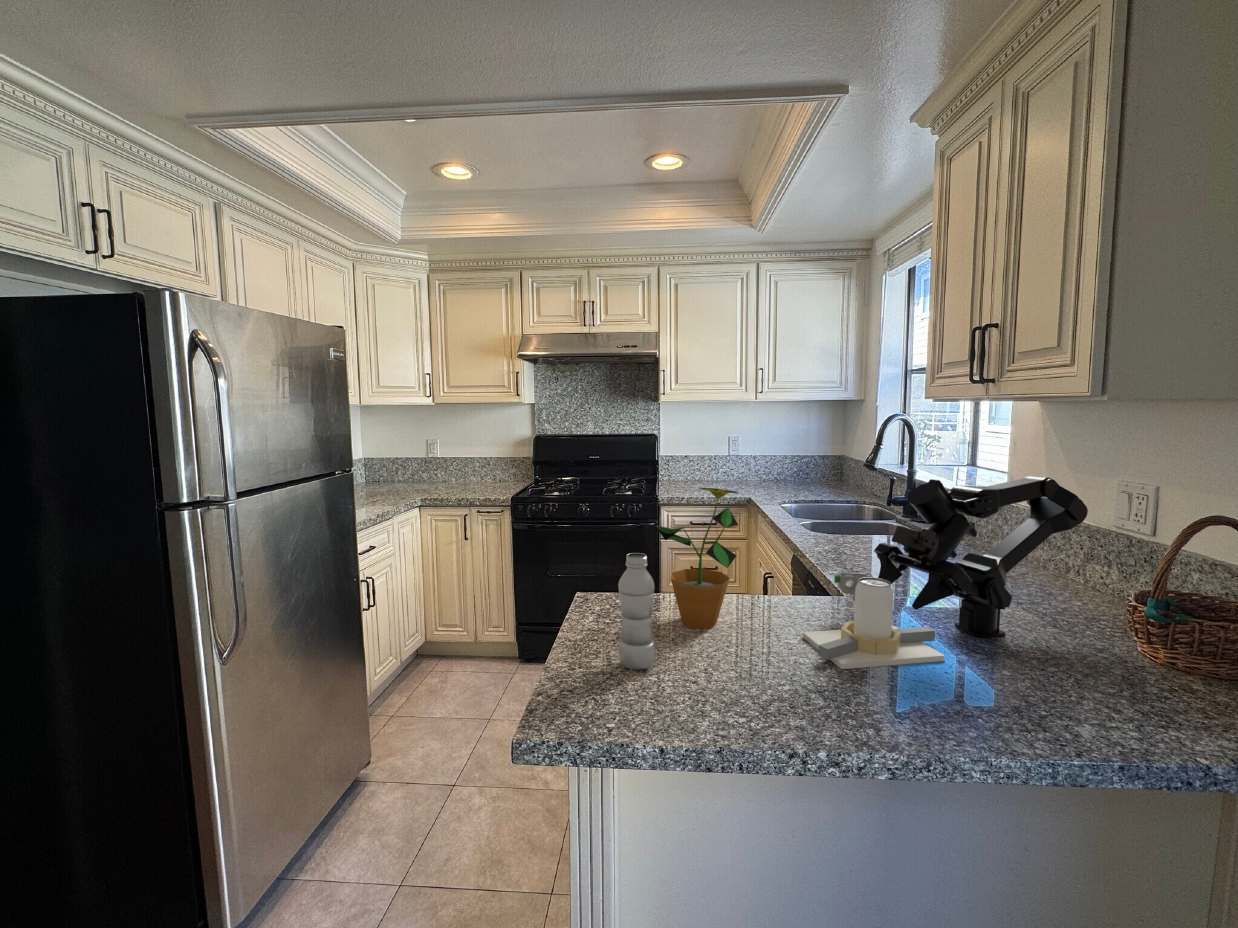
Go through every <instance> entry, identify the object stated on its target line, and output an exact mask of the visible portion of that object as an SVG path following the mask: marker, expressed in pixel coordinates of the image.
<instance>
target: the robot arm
mask: <svg viewBox="0 0 1238 928" xmlns="http://www.w3.org/2000/svg"><path fill="white" fill-rule="evenodd" d="M907 500H908V503H909V504H910V505H911V506H912V507H913V508H914V510H915V511H916V512H917V514H918V515H919V516H920V518H922V519H923V520H924V521H925V522H926V523H927V524H930V526H929V527H928V529H926V528H923V529H922V530H920V531H919V530H915V529H912V528H907V527H904V526H899V525H896V528H895V530H894V532H893V536H891V537H892V538H891V541H890V542H893V543H897V544H899V545H901V546H903V547H902V549H903V551H904V552H905V553H907V554H908V555H905V554H904V552H902V551H901V549H900V548H899V547H898V546H896V545H893V544H890V543H886V542H881V543H880V542H879V544H878V545H877V546H876V547H875V548H874V550H873V552H874V553H875V554H876V558H877V559H878V560H879V562H880V568H879V573H878V577H877V578H880V579H884V580H887V581H889V582H890V583H891V585H892V584H893V583H895V582H896V581H898V580H899V578H901V577H902V576H903V575H904V574H903V573H902V572H903V571H906V570H907V569H908V568H910V569H914V570H917V571H920V572H923V573H925V574H928V579H927V582H926V583H925V585H923V588H922V589H921V590H920V592H919V593H918V595H917V596H916V597H915V599H914V600H913V602H912V604H911V608H913V610H916V611H917V610H920V609H921V608H924V607H926V606H928V605H931V604H933V603H935V602H938V601H940V600H943V599H945V598H949V597H952V596H954V597H958V598H961V606H960V607H959V614H958V615H959V617H958V622H954V626H955V627H957V628H959V629H960V630H962V631H965V632H967V633H968V634H969V635H972V636H974V637H976V638H987V637H1002V636H1006V634H1007V632H1005V631H1003V630H1001V629H1000V627H1001V625H1000V624H1001V610H1006V608H1009V607H1010V605H1011V603H1012V600H1013V595H1011V593H1010V592H1009V591H1008V589H1006V585H1007V574H1008V573H1009V572H1010V571H1011V570H1012V569H1013V568H1014V567H1016V566H1017V565H1018V564H1019V563H1020V562H1022V560H1024V559H1025V558H1026V557H1027V556H1028V555H1030V554H1031V553H1032V552H1033V551H1034V550H1036V549H1037V548H1038V547H1039V546H1040V545H1041V544H1042V543H1044V542H1045V541H1046V540H1047V539H1049V538H1050V536H1052V535H1054V534H1058V533H1062V532H1067V531H1071V530H1072V529H1074V528H1075V527H1077V526H1080V525H1081V524H1082V523H1083V522H1084V520H1085V519H1086V518H1087V517H1088V511H1089V510H1088V507H1087V505H1086V504H1085V503H1084V501H1083V500H1082V499H1081V498H1080V497H1079V496H1078V495H1077V494H1075V493H1074V492H1071V491H1070V490H1068V489H1066V488H1065V487H1063V486H1061V485H1060V484H1059V483H1058V482H1057V481H1056V480H1055V479H1052V478H1051V477H1046V476H1035V475H1028V476H1025V477H1023V478H1020V479H1015V480H1010V481H1005V482H1002V483H1001V482H1000V483H997V484H993V485H988V486H981V485H980V486H978V485H955V486H953V487H952V488H951V489H950V491H948V490H947V489H946V488H945V486H944V484H943V482H942V481H941V480H939V479H934V478H932V479H931V478H930V479H929V481H928V482H926V483H922V484H920V485H918V486H916V487H915V488H912V489H911V490H910V491H909V493H908V495H907ZM1022 502H1023V503H1024V502H1026V504H1027V505H1029V507H1030V508H1029V517H1028V518H1027V519H1026V520H1025V521H1023V522H1022V523H1021V524H1020V525H1019V526H1017V528H1015V529H1014V530H1012V532H1011V533H1009V534H1007V536H1005V537H1004V538H1003V539H1001V540H1000V542H999V543H997V544H996V545H995V546H994V547H992V548H991V549H990V550H989V551H987V552H986V553H985V554H984V555H983V554H982V555H981V554H978V553H975V552H968V553H967V554H965V555H964V557H963V558H962V559H960V560H958V561H956V562H955V563H954V562H951V561H948V559H949V558H951V559H955V558H956V556H958V553H956V552H955V550H956V548H957V547H958V546H959V545H960V543H961V542H962V541H963V539H964V538H965V537H966V536H969V537H973V538H976V537H977V536H978V531H977V529H976V523H975V522H973V521H972V522H971V521H969V520H968V519H967V517H971V518H975V519H976V518H977V519H987V518H989V517H991V516H993V515H995V514H997V513H998V512H999V511H1000V508H1003V507H1005V506H1009V505H1013V504H1017V503H1019V504H1020V503H1022Z"/></svg>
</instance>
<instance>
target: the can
mask: <svg viewBox="0 0 1238 928" xmlns="http://www.w3.org/2000/svg"><path fill="white" fill-rule="evenodd" d="M858 581H859V582H858V584H857V586H856V589H855V601H854V613H853V614H854V617H853V621H854V634H855V635H857V636H861V637H866V638H870V639H875V640H878V639H891V635H892V626H893V613H894V612H893V611H894V609H893V606H894V591H893V588H892V587H891V586H892V584H891V583H890V582H889V581H887V580H884V579H880V578H878V577H871V576H870V577H869V576H868V577H864V578H860V579H858Z"/></svg>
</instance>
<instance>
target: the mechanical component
mask: <svg viewBox="0 0 1238 928" xmlns="http://www.w3.org/2000/svg"><path fill="white" fill-rule="evenodd" d="M864 577H869V576H868V575H867V574H865V573H850V572H849V573H848V572H838V573H837V574H835V575H834V577H833V578H834V583H838V588H839V589H840V590H841V592H842V593H843V594H846V595H853V601H854V602H855V589H856V586H857V584H858V582H859V581H858V579H860V578H864ZM848 581H851V583H850V584H847V582H848Z"/></svg>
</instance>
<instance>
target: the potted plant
mask: <svg viewBox="0 0 1238 928" xmlns="http://www.w3.org/2000/svg"><path fill="white" fill-rule="evenodd" d="M699 489H701V490H702V491H703V490H704V491H708V492H710V493H711V494H712V496H714V497H715V499H717V500H716V502H715V507H714V510H713V511H714V512H713V514H712V516H711V519H710V522H709V524H708V527H707V530H706V533H705V535H704V537H703V541H702V543H701V544H702V545H701V548H700V552H699V551H698V549H697V547H696V546H695V544H694V542H693V541H692V540H691V538H690V536H689V534H688V532H687V531H686V529H685V527H684V526H683V527H682V526H681V527H672V528H671V527H667V526H666V527H665V526H662V525H656V524H654V527H655V529H656V530H657V531H658V533H660V535H661V536H662V538H663V539H664V540H665V541H667V540H672V541H675V542H678V543H679V544H683V545H686V546H689V547H691V546H692V547H693V549H694V551H695V553H696V554H697V556H698V559H699V560H698V561H699V562H698V568H684V569H680V570H677V571H673V572H671V574H670V575H671V576H670V580H671V584H672V587H673V591H674V592H673V593H674V595H675V596H674V597H675V600H676V604H677V609H678V611H679V616H680V620H681V622H682V625H683V626H685V627H688V628H690V629H698V630H704V629H706V630H707V629H711V628H714V627H715V625H716V624H717V623H718V620H719V615H720V612H721V608H722V605H723V602H724V598H725V595H726V592H727V589H728V584H729V582H730V577H729V576H727V575H726V574H725V573H723V572H722V571H718V570H711V569H707V568H702V565H703V564H702V563H703V562H702V561H703V559H702V557H703V552H704V548H705V545H711V546H710V547H709V548H708V549H707V550H706V552H705V554H706V555H708V556H709V557H711V558H712V559H713V560H715V561H716V562H718V563H719V564H720V565H722V566H723V567H724V568H727V569H728V568H729V567H730V565H731V564H732V563H733V562H734V560H735V559H736V557H737V556H738V555H736V554H735V553H733V552H732V551H730V550H729V549H728V548H727V547H725V546H724V545H723V544H720V543H719V542H718V541H719V540H720V538H721V536H722V534H723V532H724V531H725V528H731V527H737V526H739V523H738V521H737V520H736V518H735V516H734V515H733V513H732V512H731V509H730V507H728V506H727V507H726V508H725V509H723V510H722V511H720V512H719V513H718V514H716V512H717V506H718V503H719V499H721V498H723V497H724V496H726V495H728V494H739V492H737V491H736V490H729V489H721V488H713V487H699ZM713 521H715V522H716V523H718V524H719V525H720V526H722V527H723V528H722V530H721V532H720V533H719V535H718V536H717V538H716V539H715V540H712V541H711V540H710V541H706V540H707V538H708V537H707V536H708V534H709V531H710V529H711V526H712V523H713ZM682 530H683V531H684V533H685V534H686V536H687V538H685V537H683V536H680V535H677V534H678V532H680V531H682Z"/></svg>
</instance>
